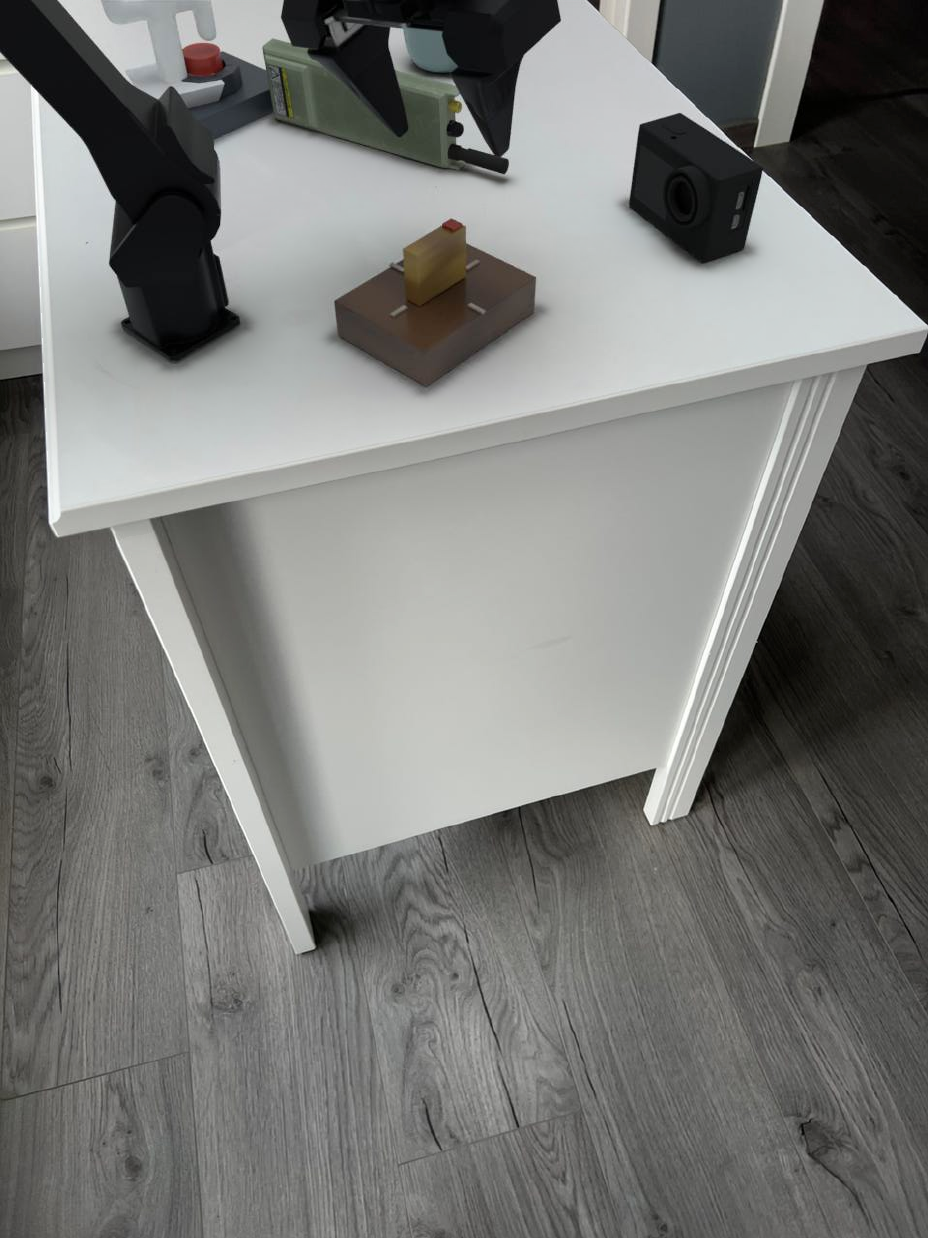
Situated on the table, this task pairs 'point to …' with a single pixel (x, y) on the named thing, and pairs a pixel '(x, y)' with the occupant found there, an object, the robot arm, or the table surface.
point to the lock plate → (435, 316)
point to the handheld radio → (334, 110)
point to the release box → (234, 96)
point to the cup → (428, 50)
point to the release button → (202, 59)
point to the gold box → (435, 262)
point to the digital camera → (694, 186)
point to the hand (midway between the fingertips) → (450, 143)
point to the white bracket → (167, 46)
